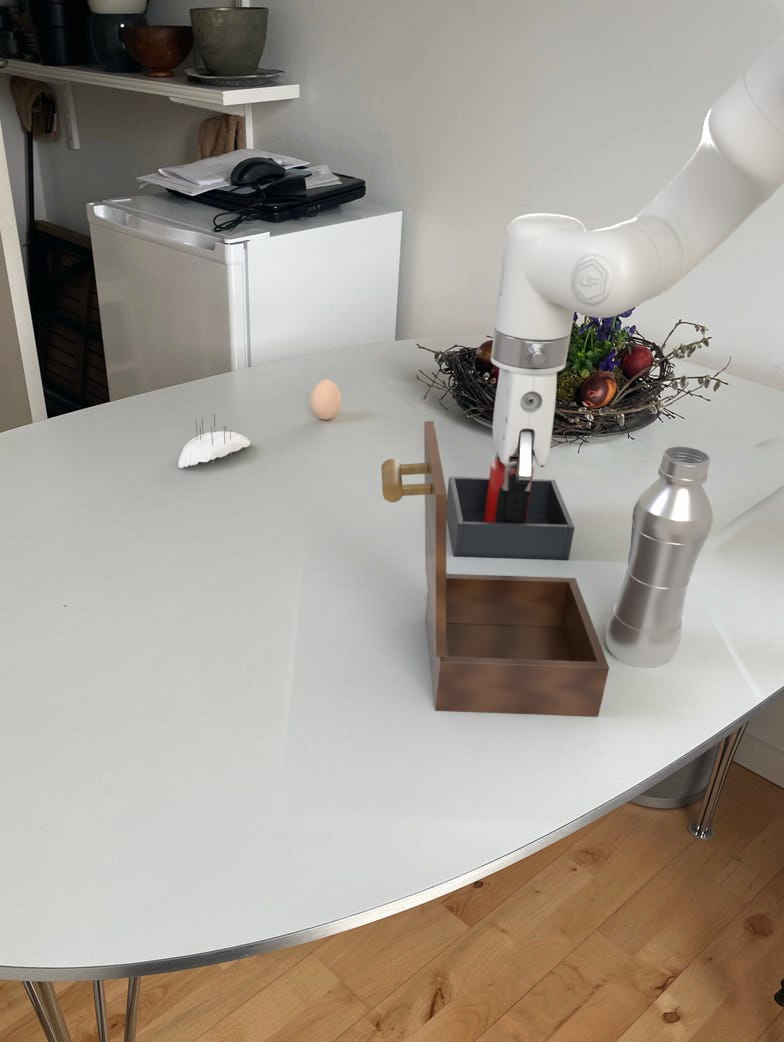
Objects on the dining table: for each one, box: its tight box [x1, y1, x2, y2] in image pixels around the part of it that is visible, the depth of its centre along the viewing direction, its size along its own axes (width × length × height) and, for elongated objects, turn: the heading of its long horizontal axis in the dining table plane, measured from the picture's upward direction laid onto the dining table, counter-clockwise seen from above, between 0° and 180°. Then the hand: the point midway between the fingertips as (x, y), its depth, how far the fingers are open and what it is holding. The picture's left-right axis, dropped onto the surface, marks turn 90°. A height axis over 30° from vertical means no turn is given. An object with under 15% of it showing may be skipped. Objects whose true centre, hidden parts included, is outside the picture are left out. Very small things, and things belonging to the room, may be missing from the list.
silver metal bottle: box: [604, 445, 714, 669], centre depth 84 cm, size 6×7×20 cm
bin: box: [446, 476, 575, 561], centre depth 108 cm, size 12×12×4 cm
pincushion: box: [177, 413, 252, 469], centre depth 126 cm, size 12×6×6 cm, turn 135°
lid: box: [380, 420, 448, 657], centre depth 81 cm, size 14×15×5 cm
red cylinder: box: [484, 459, 535, 524], centre depth 107 cm, size 5×5×8 cm
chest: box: [424, 573, 610, 718], centre depth 86 cm, size 14×15×6 cm
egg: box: [309, 379, 342, 421], centre depth 138 cm, size 4×4×6 cm
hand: (506, 510), depth 108 cm, fingers closed on red cylinder, 4 cm apart
